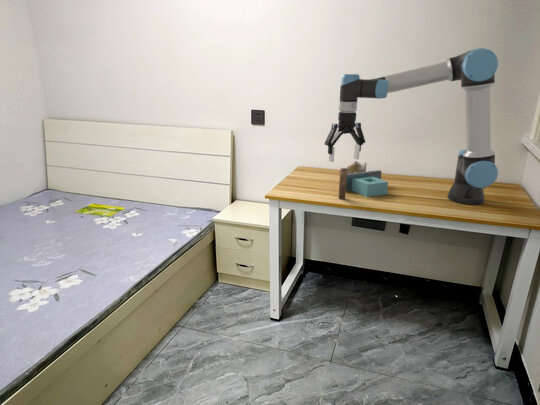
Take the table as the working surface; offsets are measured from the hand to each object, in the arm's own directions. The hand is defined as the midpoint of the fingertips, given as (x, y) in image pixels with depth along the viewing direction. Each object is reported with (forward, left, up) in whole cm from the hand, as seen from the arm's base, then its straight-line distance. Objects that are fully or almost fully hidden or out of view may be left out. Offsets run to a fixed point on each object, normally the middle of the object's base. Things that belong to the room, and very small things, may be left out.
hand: (343, 160), depth 176 cm
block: (+3, -18, -18) cm, 26 cm away
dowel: (0, 0, -18) cm, 18 cm away
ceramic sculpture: (+32, -31, -18) cm, 48 cm away
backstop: (+10, -18, -18) cm, 27 cm away
